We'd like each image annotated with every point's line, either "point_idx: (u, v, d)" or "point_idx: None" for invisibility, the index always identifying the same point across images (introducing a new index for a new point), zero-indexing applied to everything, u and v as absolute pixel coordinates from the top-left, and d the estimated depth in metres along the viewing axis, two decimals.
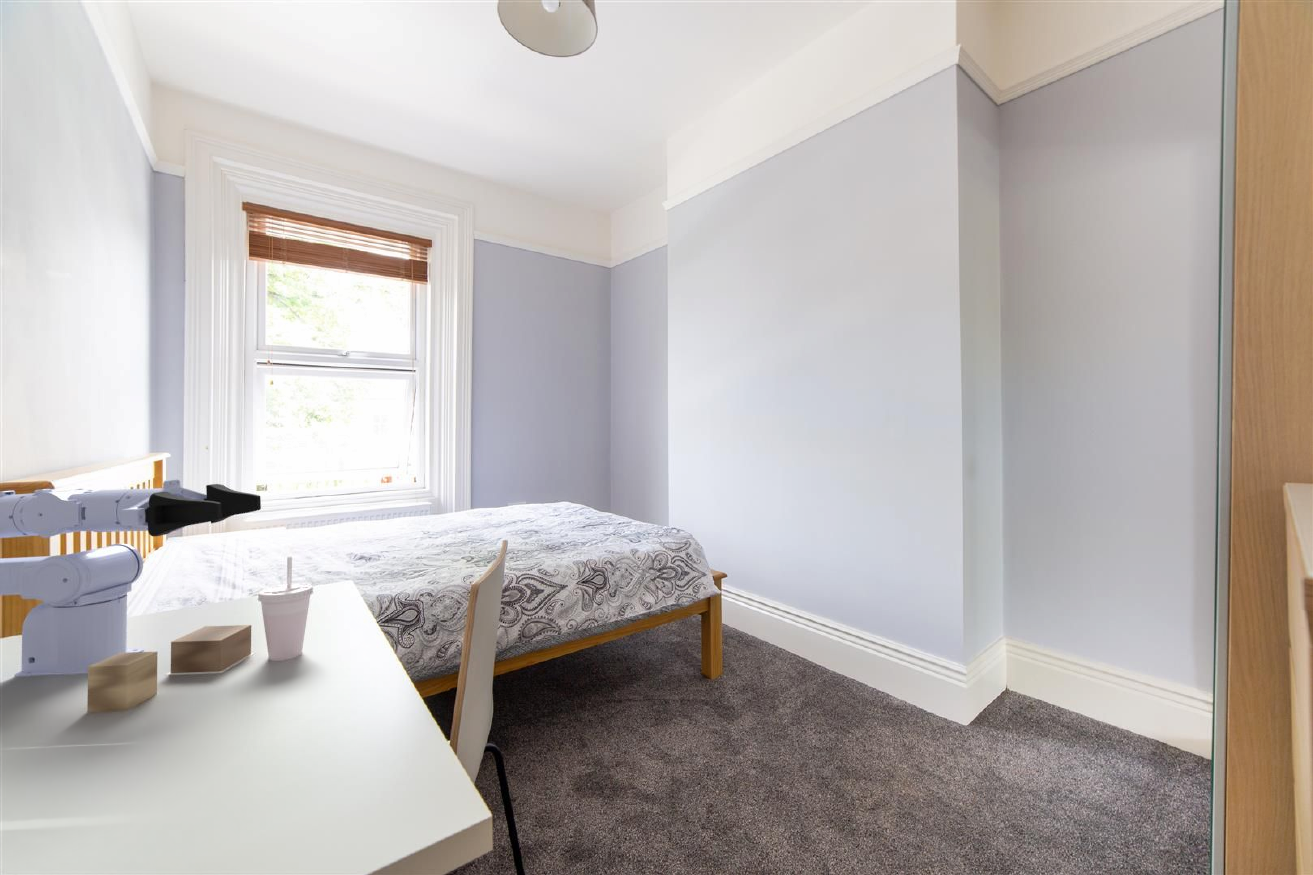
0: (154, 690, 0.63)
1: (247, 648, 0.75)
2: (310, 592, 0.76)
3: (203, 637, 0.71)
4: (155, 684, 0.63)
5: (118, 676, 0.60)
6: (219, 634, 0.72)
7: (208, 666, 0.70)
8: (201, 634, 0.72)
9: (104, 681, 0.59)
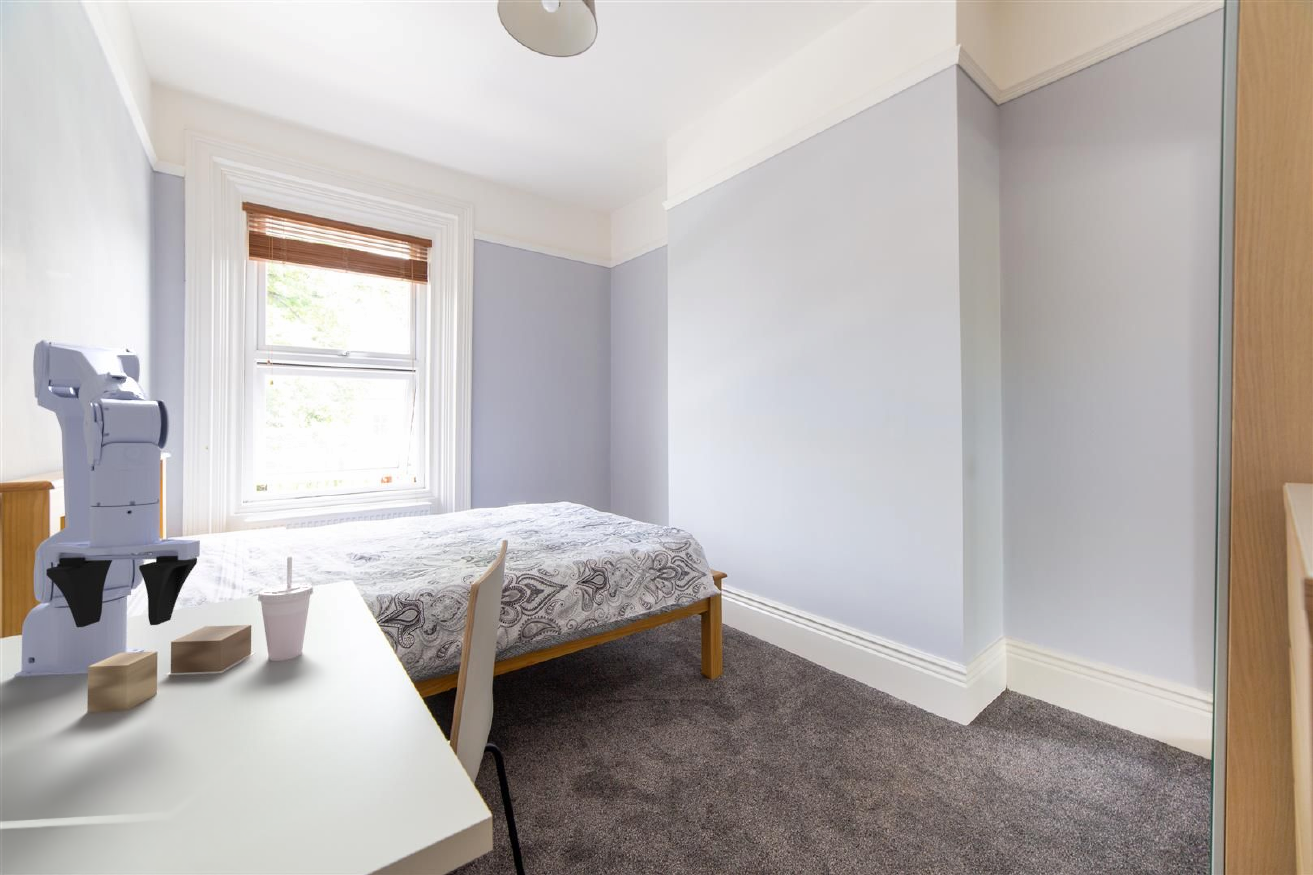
0: (154, 690, 0.63)
1: (247, 648, 0.75)
2: (310, 592, 0.76)
3: (203, 637, 0.71)
4: (155, 684, 0.63)
5: (118, 676, 0.60)
6: (219, 634, 0.72)
7: (208, 666, 0.70)
8: (201, 634, 0.72)
9: (104, 681, 0.59)
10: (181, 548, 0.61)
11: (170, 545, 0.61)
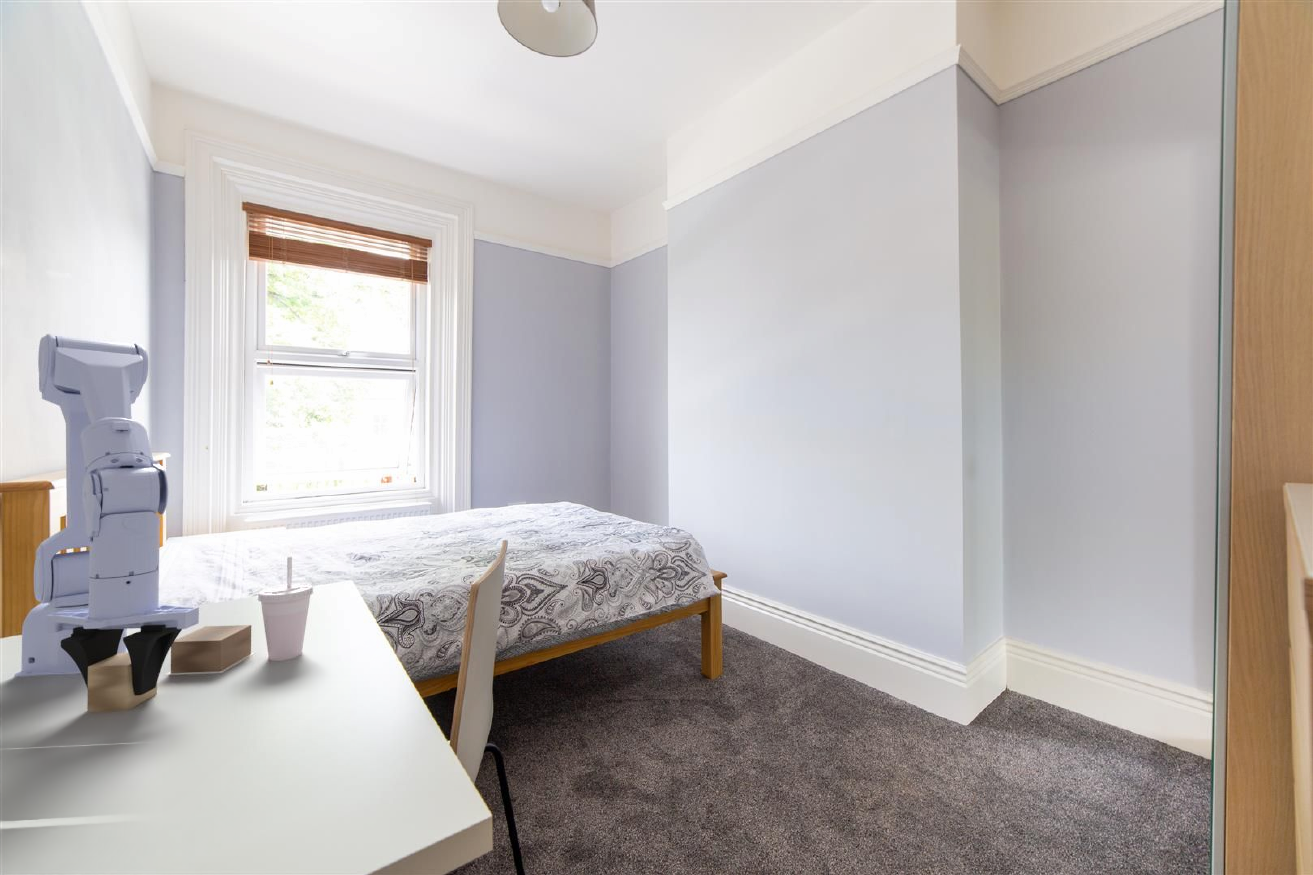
0: (154, 690, 0.63)
1: (247, 648, 0.75)
2: (310, 592, 0.76)
3: (203, 637, 0.71)
4: None
5: (118, 676, 0.60)
6: (219, 634, 0.72)
7: (208, 666, 0.70)
8: (201, 634, 0.72)
9: (104, 681, 0.59)
10: (180, 617, 0.61)
11: (169, 614, 0.61)
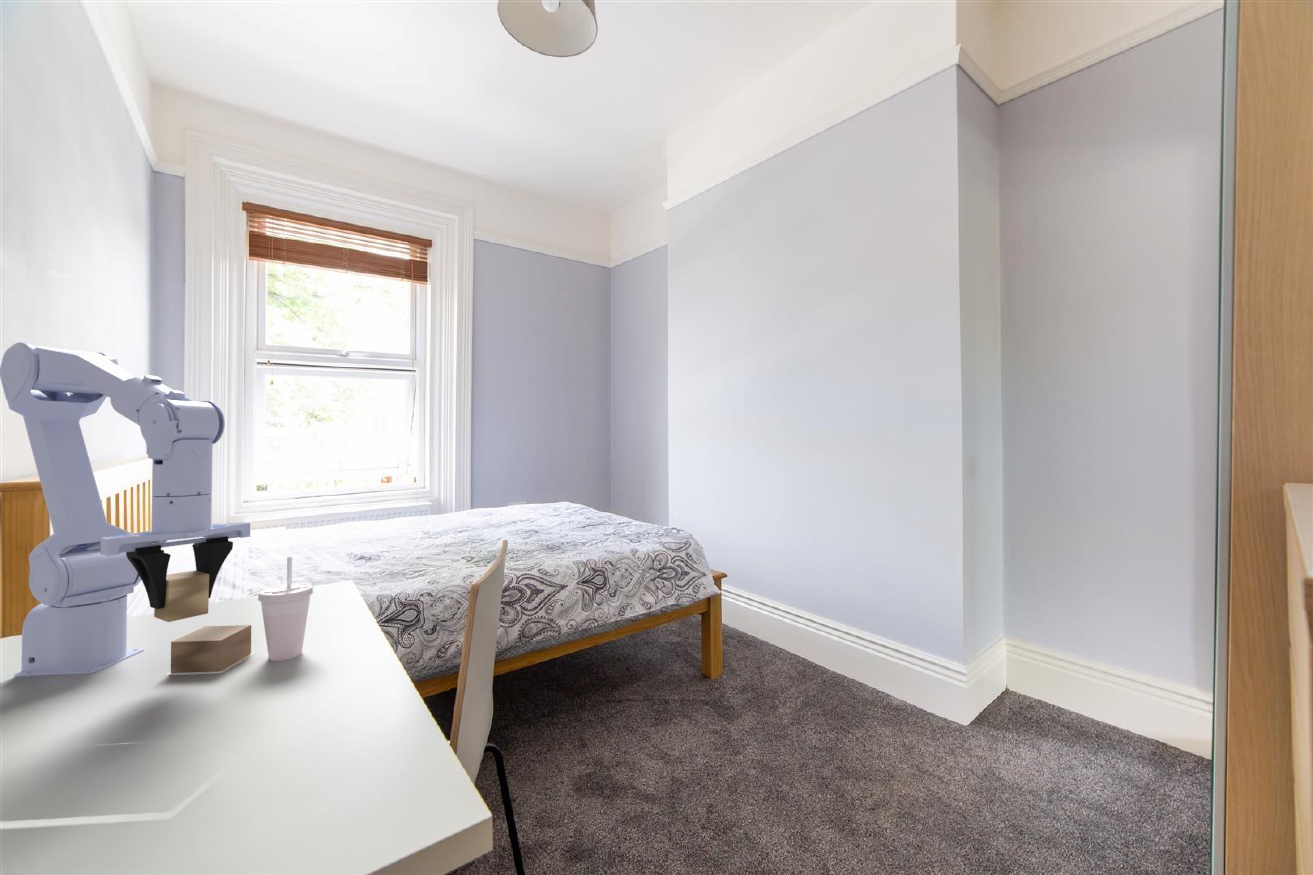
0: None
1: (247, 648, 0.75)
2: (310, 592, 0.76)
3: (203, 637, 0.71)
4: None
5: (200, 585, 0.68)
6: (219, 634, 0.72)
7: (208, 666, 0.70)
8: (201, 634, 0.72)
9: (186, 591, 0.67)
10: (245, 527, 0.74)
11: (238, 525, 0.73)
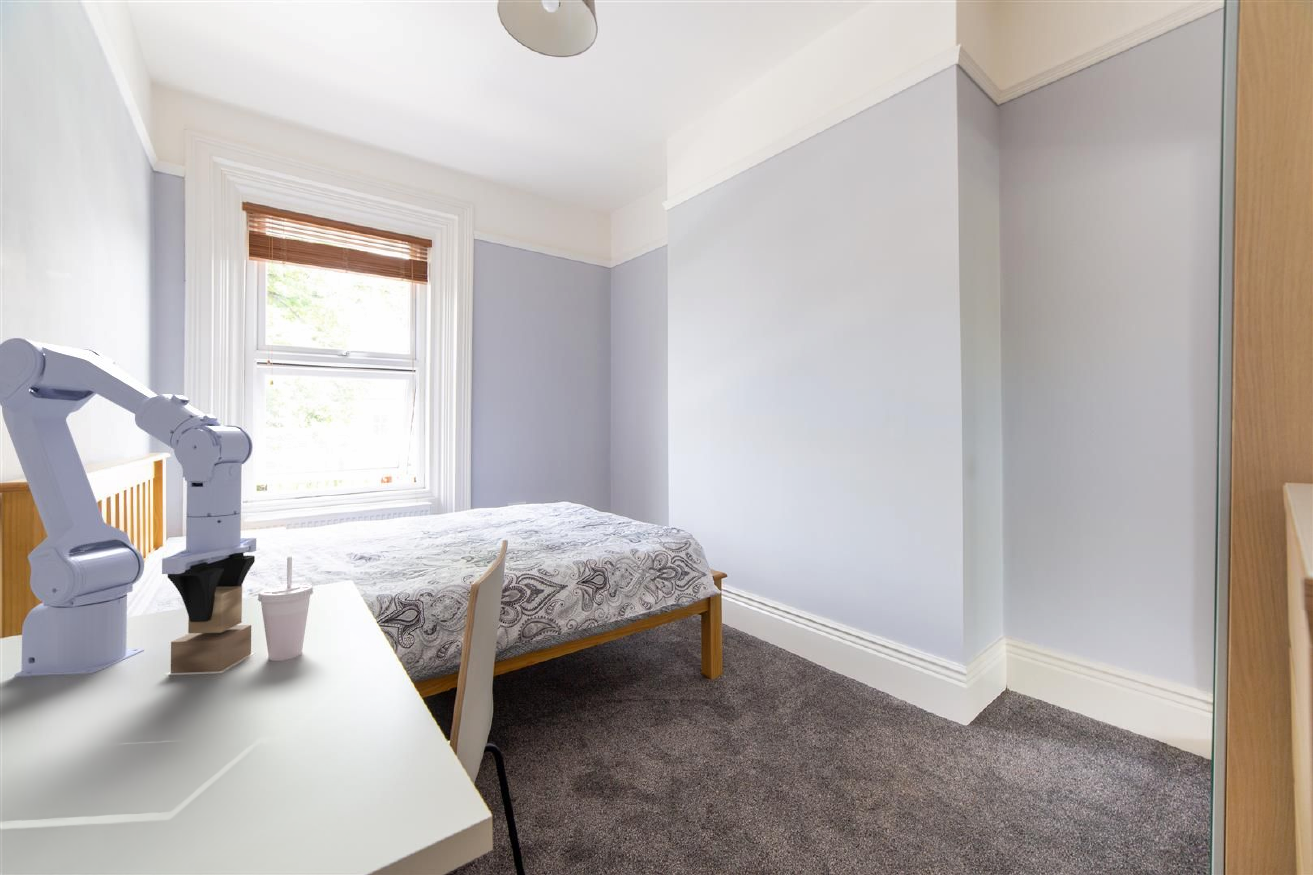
0: None
1: (247, 648, 0.75)
2: (310, 592, 0.76)
3: (203, 637, 0.71)
4: None
5: (237, 597, 0.74)
6: (219, 634, 0.72)
7: (208, 666, 0.70)
8: (201, 634, 0.72)
9: (230, 603, 0.73)
10: (254, 542, 0.80)
11: (250, 541, 0.79)
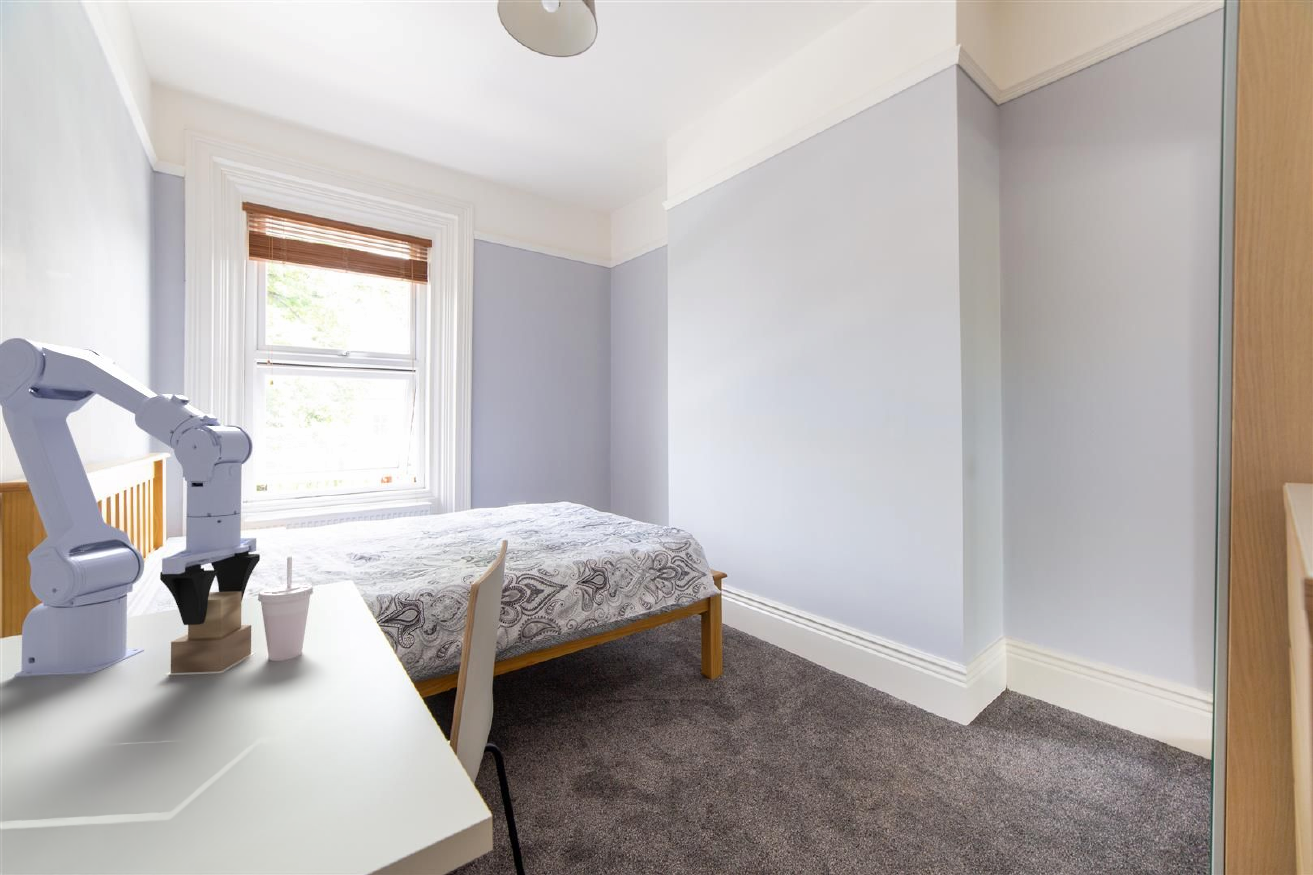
0: None
1: (247, 648, 0.75)
2: (310, 592, 0.76)
3: None
4: None
5: (237, 602, 0.74)
6: None
7: (208, 666, 0.70)
8: None
9: (230, 608, 0.73)
10: (254, 542, 0.80)
11: (250, 541, 0.79)
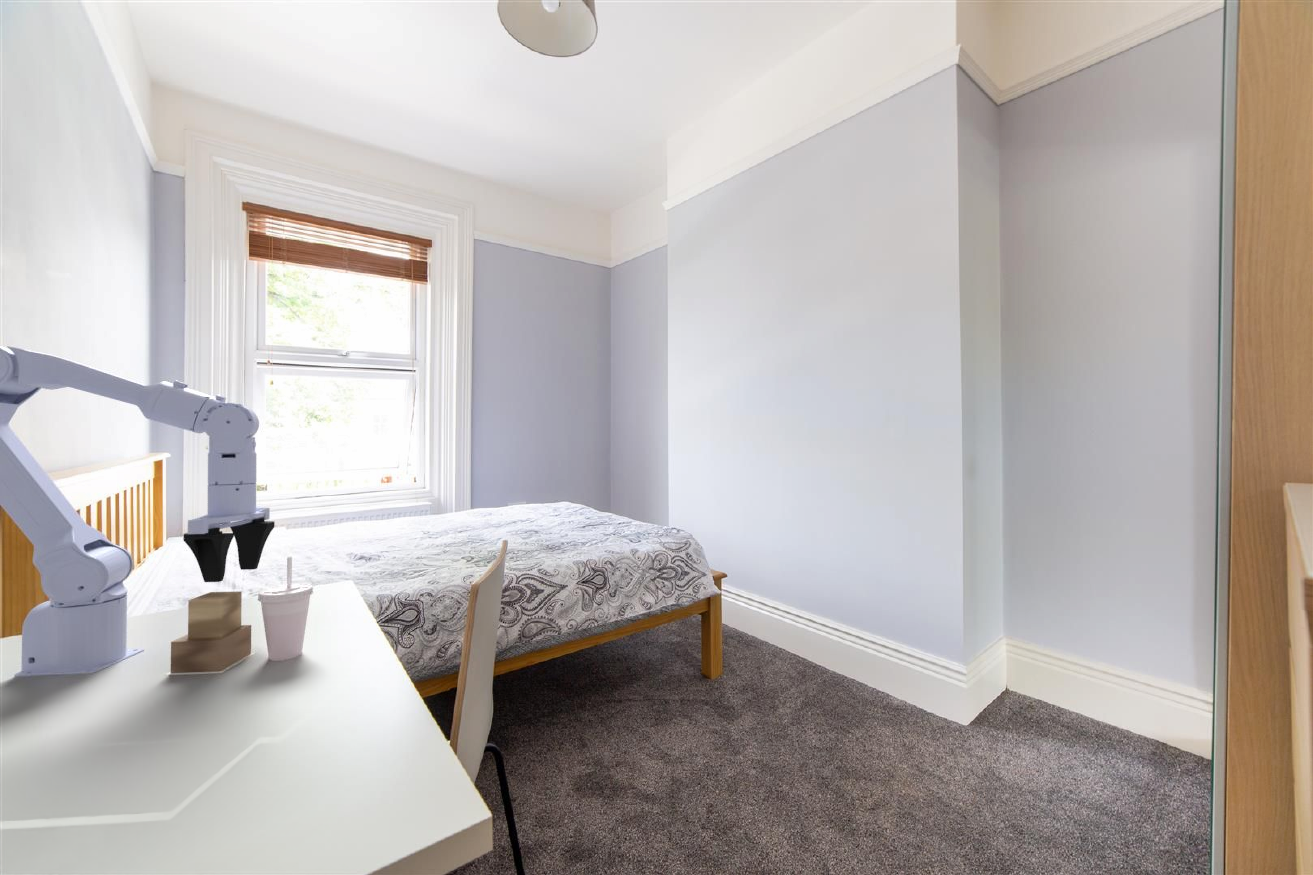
0: None
1: (247, 648, 0.75)
2: (310, 592, 0.76)
3: None
4: None
5: (237, 602, 0.74)
6: None
7: (208, 666, 0.70)
8: None
9: (230, 608, 0.73)
10: (267, 511, 0.87)
11: (264, 509, 0.86)
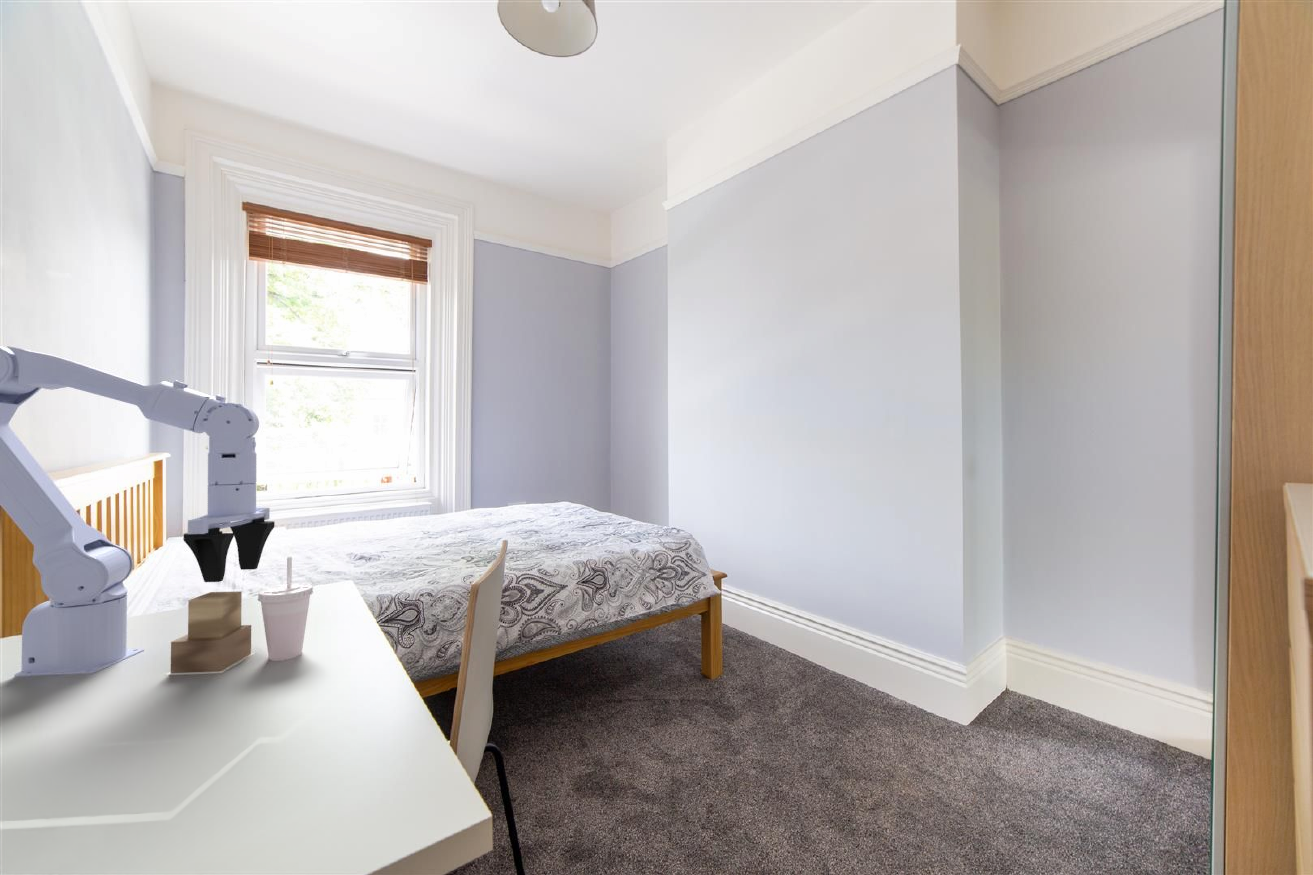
0: None
1: (247, 648, 0.75)
2: (310, 592, 0.76)
3: None
4: None
5: (237, 602, 0.74)
6: None
7: (208, 666, 0.70)
8: None
9: (230, 608, 0.73)
10: (267, 511, 0.87)
11: (264, 509, 0.86)
